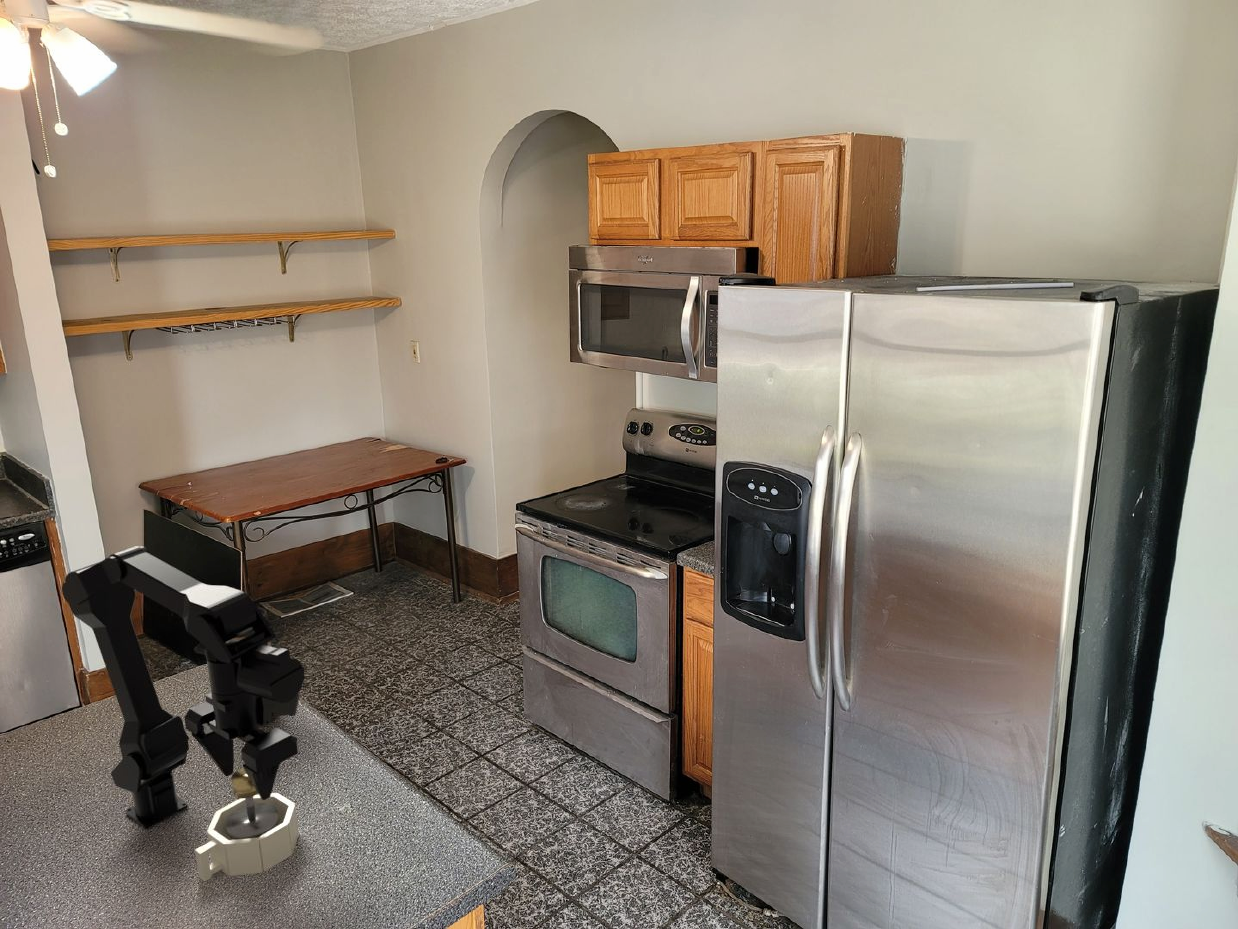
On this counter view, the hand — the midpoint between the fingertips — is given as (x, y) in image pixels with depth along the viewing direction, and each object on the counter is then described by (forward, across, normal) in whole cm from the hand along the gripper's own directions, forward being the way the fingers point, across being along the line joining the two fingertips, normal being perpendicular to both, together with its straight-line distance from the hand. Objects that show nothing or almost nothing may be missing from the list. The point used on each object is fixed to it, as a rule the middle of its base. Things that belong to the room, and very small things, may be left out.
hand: (247, 786), depth 124 cm
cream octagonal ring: (+10, 0, +1) cm, 10 cm away
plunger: (+6, 0, 0) cm, 6 cm away
